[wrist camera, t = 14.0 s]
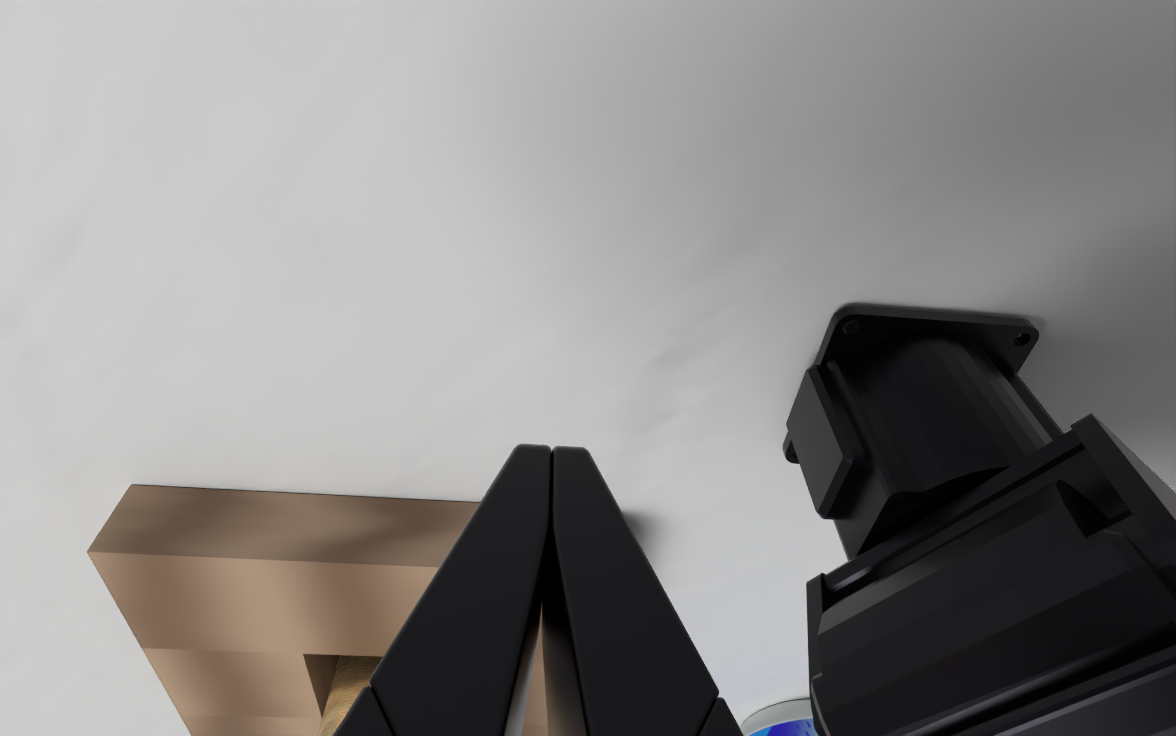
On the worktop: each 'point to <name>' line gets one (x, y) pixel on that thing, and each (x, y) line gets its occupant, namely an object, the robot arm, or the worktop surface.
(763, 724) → the beer can
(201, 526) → the walnut jig
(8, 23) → the worktop surface
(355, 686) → the brass sleeve
